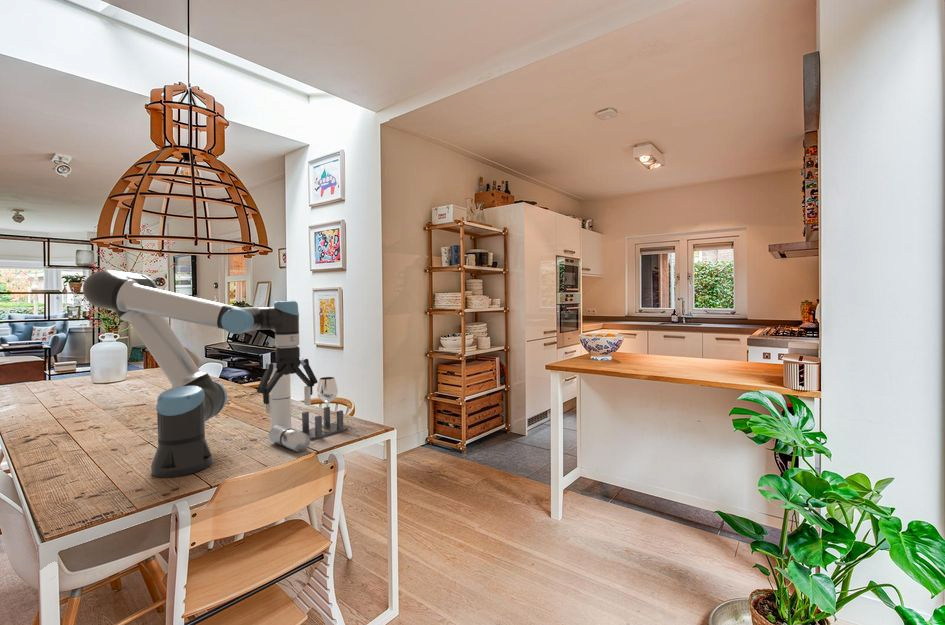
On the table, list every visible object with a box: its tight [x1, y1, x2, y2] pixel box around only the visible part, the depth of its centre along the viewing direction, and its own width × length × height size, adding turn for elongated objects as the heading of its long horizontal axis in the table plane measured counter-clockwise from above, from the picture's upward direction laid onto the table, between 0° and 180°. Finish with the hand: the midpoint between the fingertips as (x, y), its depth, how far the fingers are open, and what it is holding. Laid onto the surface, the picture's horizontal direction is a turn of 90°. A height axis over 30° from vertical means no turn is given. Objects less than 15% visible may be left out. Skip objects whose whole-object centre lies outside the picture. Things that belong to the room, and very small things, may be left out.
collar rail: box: [299, 406, 349, 441], centre depth 162 cm, size 15×10×8 cm, turn 141°
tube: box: [268, 425, 311, 453], centre depth 147 cm, size 16×6×6 cm, turn 51°
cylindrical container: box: [269, 367, 292, 430], centre depth 166 cm, size 7×7×25 cm
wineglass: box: [316, 376, 338, 425], centre depth 176 cm, size 8×8×18 cm
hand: (289, 409), depth 146 cm, fingers open, 13 cm apart
